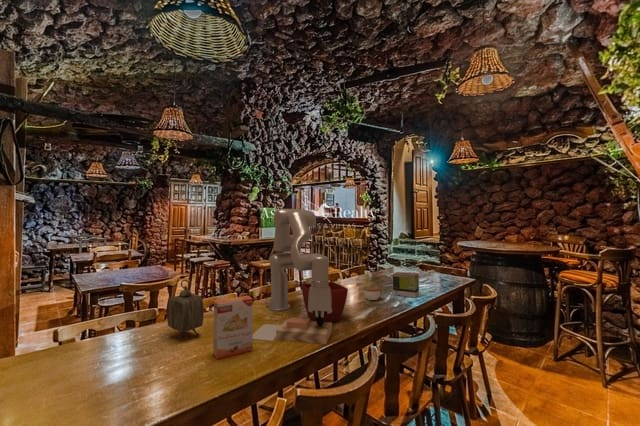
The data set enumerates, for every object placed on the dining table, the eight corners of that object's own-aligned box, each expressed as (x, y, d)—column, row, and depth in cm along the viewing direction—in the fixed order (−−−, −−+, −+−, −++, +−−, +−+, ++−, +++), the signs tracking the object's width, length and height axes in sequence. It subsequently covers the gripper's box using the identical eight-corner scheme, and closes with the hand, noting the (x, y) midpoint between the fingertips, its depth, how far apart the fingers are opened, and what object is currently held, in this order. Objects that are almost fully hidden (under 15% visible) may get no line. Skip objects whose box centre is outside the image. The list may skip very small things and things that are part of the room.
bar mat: (248, 339, 129) (248, 338, 129) (264, 324, 147) (264, 323, 147) (272, 341, 127) (272, 340, 127) (285, 326, 145) (285, 325, 145)
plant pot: (332, 311, 167) (332, 281, 168) (348, 322, 150) (348, 288, 150) (300, 315, 160) (300, 284, 160) (313, 327, 142) (313, 292, 143)
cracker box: (216, 360, 110) (217, 303, 110) (213, 354, 115) (213, 299, 116) (253, 351, 118) (253, 298, 118) (248, 345, 123) (248, 294, 123)
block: (286, 327, 132) (286, 321, 132) (290, 322, 138) (290, 317, 138) (306, 329, 130) (306, 323, 130) (309, 324, 136) (309, 318, 136)
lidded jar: (362, 301, 187) (362, 286, 187) (364, 297, 197) (364, 282, 197) (379, 302, 183) (379, 287, 184) (381, 298, 194) (381, 283, 194)
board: (276, 339, 129) (276, 330, 129) (286, 327, 142) (286, 319, 142) (326, 344, 124) (326, 334, 124) (331, 331, 138) (331, 322, 138)
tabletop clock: (203, 336, 132) (203, 280, 132) (184, 343, 125) (184, 283, 125) (184, 329, 140) (185, 276, 141) (165, 336, 133) (166, 279, 133)
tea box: (419, 295, 201) (419, 273, 202) (415, 298, 193) (415, 275, 193) (397, 292, 209) (397, 271, 210) (392, 295, 201) (392, 273, 201)
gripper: (301, 285, 130) (301, 327, 130) (335, 286, 127) (335, 330, 127) (305, 281, 137) (306, 321, 137) (338, 282, 134) (338, 323, 134)
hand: (320, 325), depth 132 cm, fingers closed
